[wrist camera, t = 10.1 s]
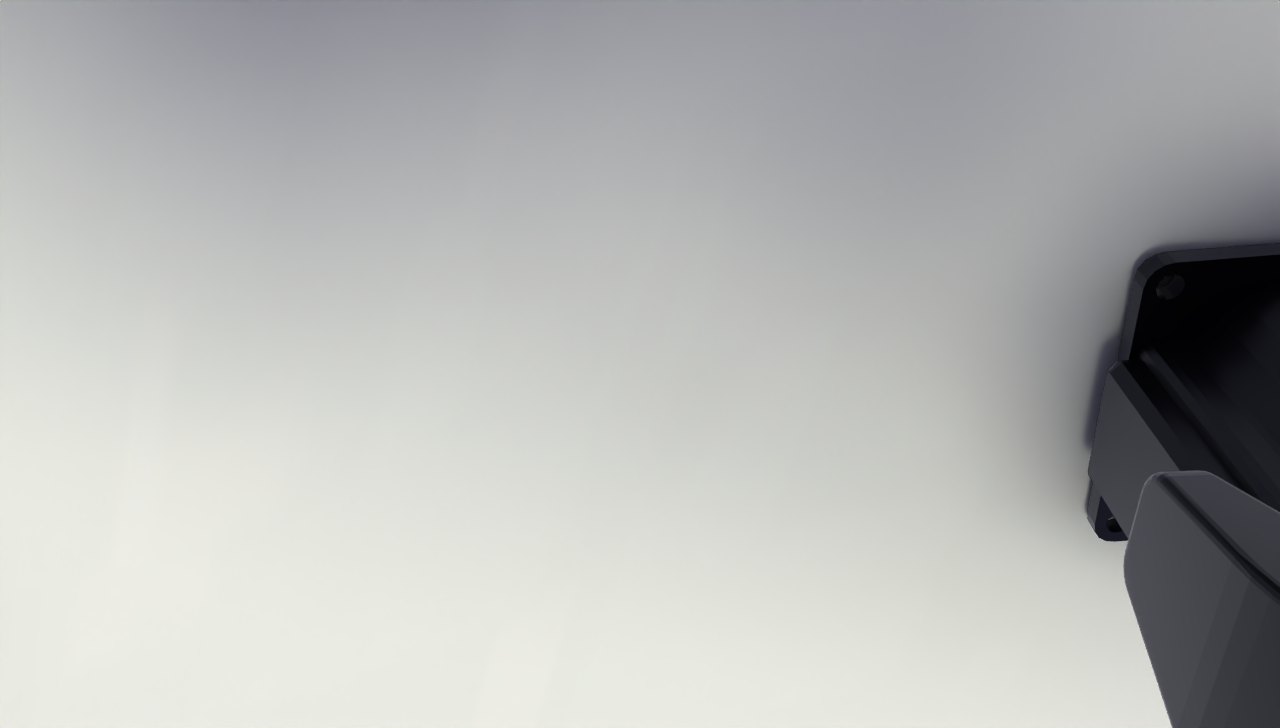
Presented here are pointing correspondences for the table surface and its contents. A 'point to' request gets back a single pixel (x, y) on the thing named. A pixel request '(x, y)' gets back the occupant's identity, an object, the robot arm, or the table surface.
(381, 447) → the table surface
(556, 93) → the table surface
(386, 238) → the table surface
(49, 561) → the table surface
